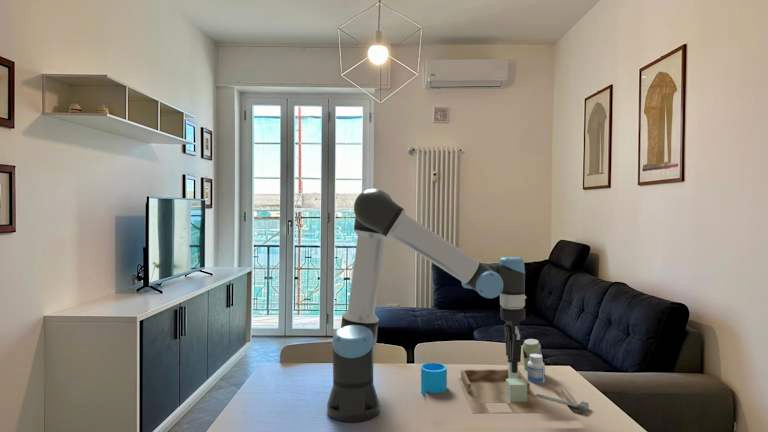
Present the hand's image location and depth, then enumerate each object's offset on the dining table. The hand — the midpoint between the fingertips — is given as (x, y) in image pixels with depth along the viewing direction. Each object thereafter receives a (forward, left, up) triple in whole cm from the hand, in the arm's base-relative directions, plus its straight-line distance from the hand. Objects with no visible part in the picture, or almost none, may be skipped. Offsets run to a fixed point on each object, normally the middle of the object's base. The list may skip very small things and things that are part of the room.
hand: (513, 381), depth 148 cm
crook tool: (+12, -8, -4) cm, 15 cm away
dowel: (+16, -5, -4) cm, 17 cm away
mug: (-24, +4, -4) cm, 25 cm away
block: (-1, -7, -2) cm, 7 cm away
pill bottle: (+10, +8, -4) cm, 13 cm away
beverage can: (+12, +18, -4) cm, 21 cm away
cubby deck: (-5, -3, -4) cm, 8 cm away
